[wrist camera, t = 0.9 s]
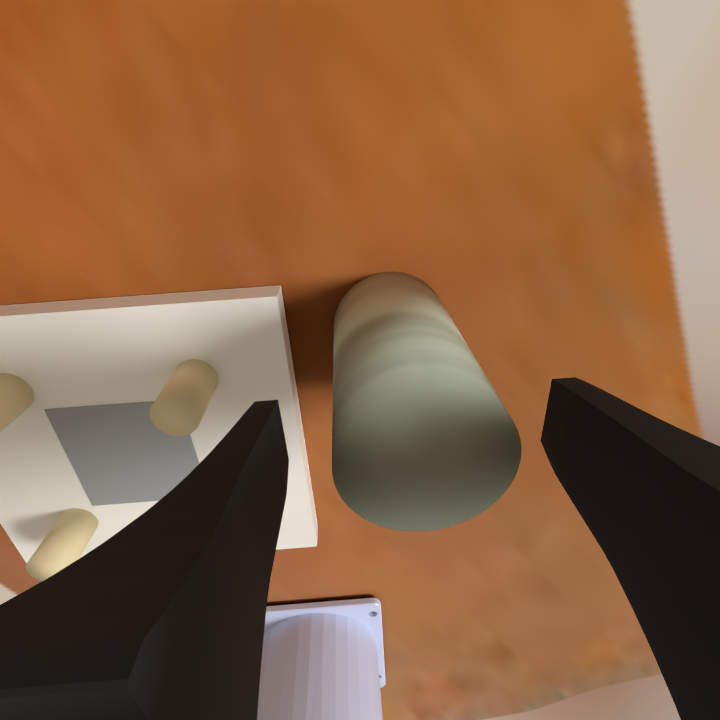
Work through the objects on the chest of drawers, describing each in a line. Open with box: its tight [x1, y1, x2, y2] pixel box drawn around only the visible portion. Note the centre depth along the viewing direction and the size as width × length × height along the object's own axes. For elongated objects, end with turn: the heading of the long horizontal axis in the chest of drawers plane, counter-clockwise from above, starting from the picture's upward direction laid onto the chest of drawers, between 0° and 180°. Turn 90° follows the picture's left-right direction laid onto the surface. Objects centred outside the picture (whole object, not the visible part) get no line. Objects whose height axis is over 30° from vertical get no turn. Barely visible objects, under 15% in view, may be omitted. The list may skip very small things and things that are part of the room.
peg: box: [332, 272, 521, 531], centre depth 13 cm, size 4×4×8 cm
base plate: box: [0, 285, 318, 581], centre depth 17 cm, size 13×14×4 cm
